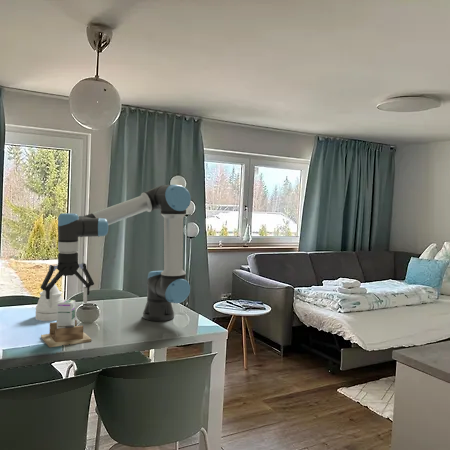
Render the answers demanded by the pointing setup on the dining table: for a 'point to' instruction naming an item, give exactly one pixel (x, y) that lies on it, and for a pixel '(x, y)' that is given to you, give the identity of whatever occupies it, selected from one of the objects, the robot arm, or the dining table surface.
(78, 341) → the square wooden frame
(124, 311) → the dining table surface
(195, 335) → the dining table surface
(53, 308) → the honey pot
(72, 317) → the syrup box
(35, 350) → the dining table surface
